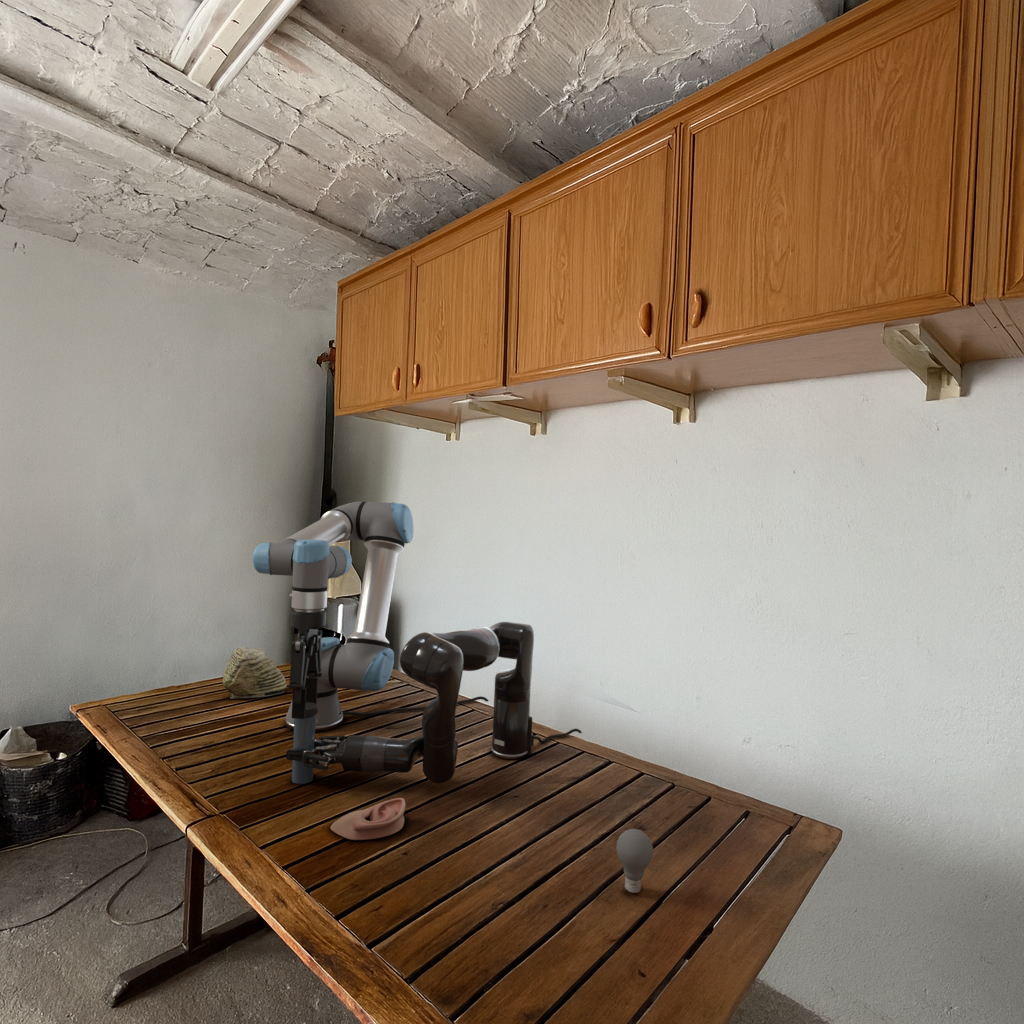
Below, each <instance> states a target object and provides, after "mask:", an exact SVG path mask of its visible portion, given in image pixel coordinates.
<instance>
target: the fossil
mask: <svg viewBox="0 0 1024 1024" xmlns="http://www.w3.org/2000/svg"><path fill="white" fill-rule="evenodd" d="M222 676H223V677H222V685H223V687H224V688H225V690H226V691H228V693H229V698H230V699H250V698H264V697H271V696H275V695H281V694H284V693H285V691H286V689H287V687H288V686H287V680H286V678H285V676H284V674H283V673H282V672H281V669H279V668H278V667H277V665H276V663H275V662H274V660H273V659H272V658H271V657H270V656H269V655H268V654H267V653H266V652H265V650H264V649H263V648H260V647H258V648H251V647H247V646H246V647H245V646H238V647H237V648H236V649H235V650H233V651H232V653H231V656H230V657H229V659H228V660H227V663H226V666H225V668H224V671H223V675H222Z"/></svg>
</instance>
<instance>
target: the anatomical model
mask: <svg viewBox="0 0 1024 1024" xmlns="http://www.w3.org/2000/svg"><path fill="white" fill-rule="evenodd" d="M406 807H407V804H406V799H405V798H403V797H396V798H391V799H388V800H385V801H382V802H378V803H376V804H374V805H372V806H370V807H367V808H364V809H360V810H355V811H351V812H348V813H347V814H344V815H343V816H341V817H340V818H338V819H336V820H335V821H334V822H333V823H332V824H331V825H330V830H331V832H333V833H335V834H337V835H338V836H339V837H342V838H344V839H346V840H351V841H365V840H374V839H380V838H384V837H388V836H391V835H394V834H395V833H397V832H399V831H400V830H402V829H403V828H404V825H405V816H404V814H405V812H406V811H405V810H406Z"/></svg>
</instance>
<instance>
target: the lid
mask: <svg viewBox="0 0 1024 1024" xmlns="http://www.w3.org/2000/svg"><path fill="white" fill-rule="evenodd" d="M317 713H318V705H317V704H316V703H312V702H306V711H305V718H307V717H312V716H315V715H316V714H317Z"/></svg>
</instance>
